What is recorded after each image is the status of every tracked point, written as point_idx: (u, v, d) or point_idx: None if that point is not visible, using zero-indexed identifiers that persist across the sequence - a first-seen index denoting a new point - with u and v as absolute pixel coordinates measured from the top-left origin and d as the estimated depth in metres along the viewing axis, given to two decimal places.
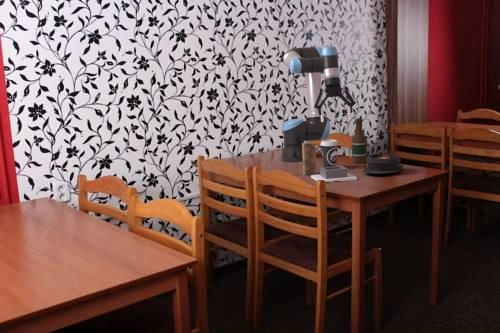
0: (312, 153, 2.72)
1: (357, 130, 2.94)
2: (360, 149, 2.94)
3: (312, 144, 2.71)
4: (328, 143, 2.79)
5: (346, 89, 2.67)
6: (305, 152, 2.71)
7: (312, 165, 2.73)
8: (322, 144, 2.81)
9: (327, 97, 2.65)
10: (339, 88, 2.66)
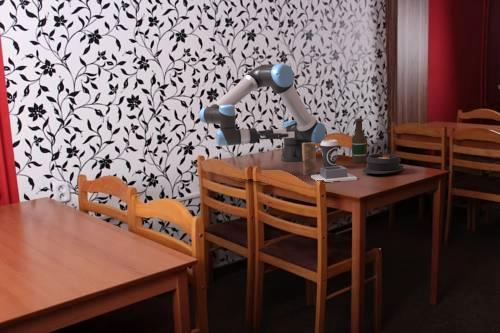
0: (312, 153, 2.72)
1: (357, 130, 2.94)
2: (360, 149, 2.94)
3: (312, 144, 2.71)
4: (328, 143, 2.79)
5: None
6: (305, 152, 2.71)
7: (312, 165, 2.73)
8: (322, 144, 2.81)
9: None
10: (260, 138, 2.63)
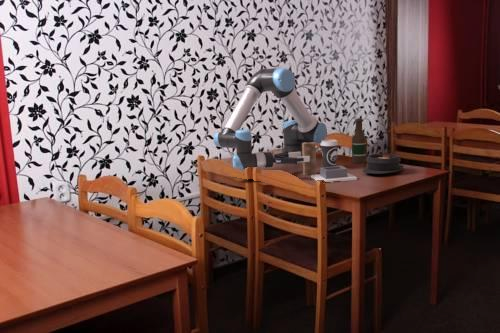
0: (312, 153, 2.72)
1: (357, 130, 2.94)
2: (360, 149, 2.94)
3: (312, 144, 2.71)
4: (328, 143, 2.79)
5: None
6: (305, 152, 2.71)
7: (312, 165, 2.73)
8: (322, 144, 2.81)
9: None
10: None
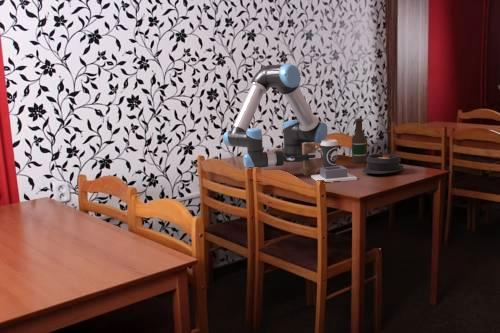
0: None
1: (357, 130, 2.94)
2: (360, 149, 2.94)
3: (312, 144, 2.71)
4: (328, 143, 2.79)
5: None
6: (305, 152, 2.71)
7: (312, 165, 2.73)
8: (322, 144, 2.81)
9: None
10: None
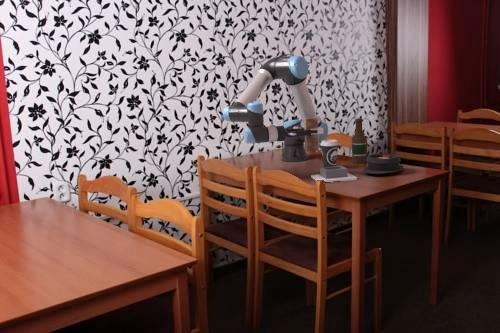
0: (315, 128, 2.67)
1: (357, 130, 2.94)
2: (360, 149, 2.94)
3: (314, 119, 2.66)
4: (328, 143, 2.79)
5: None
6: (307, 127, 2.66)
7: (314, 141, 2.68)
8: (322, 144, 2.81)
9: None
10: (288, 136, 2.63)
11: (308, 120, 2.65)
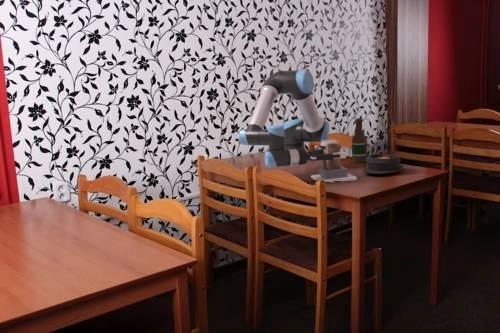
0: None
1: (357, 130, 2.94)
2: (360, 149, 2.94)
3: (336, 144, 2.58)
4: None
5: None
6: (329, 153, 2.58)
7: (336, 166, 2.60)
8: (322, 144, 2.81)
9: None
10: None
11: (330, 145, 2.58)
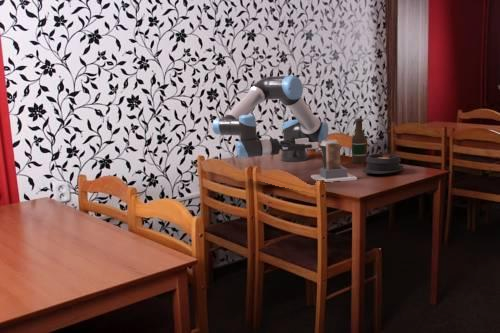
0: (337, 154, 2.59)
1: (357, 130, 2.94)
2: (360, 149, 2.94)
3: (336, 144, 2.58)
4: None
5: None
6: (329, 153, 2.58)
7: (336, 166, 2.60)
8: (322, 144, 2.81)
9: None
10: None
11: (330, 145, 2.58)
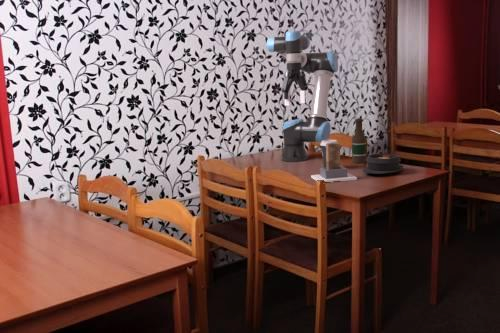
0: (337, 154, 2.59)
1: (357, 130, 2.94)
2: (360, 149, 2.94)
3: (336, 144, 2.58)
4: None
5: (303, 74, 2.80)
6: (329, 153, 2.58)
7: (336, 166, 2.60)
8: (322, 144, 2.81)
9: (292, 81, 2.74)
10: (299, 73, 2.78)
11: (330, 145, 2.58)
